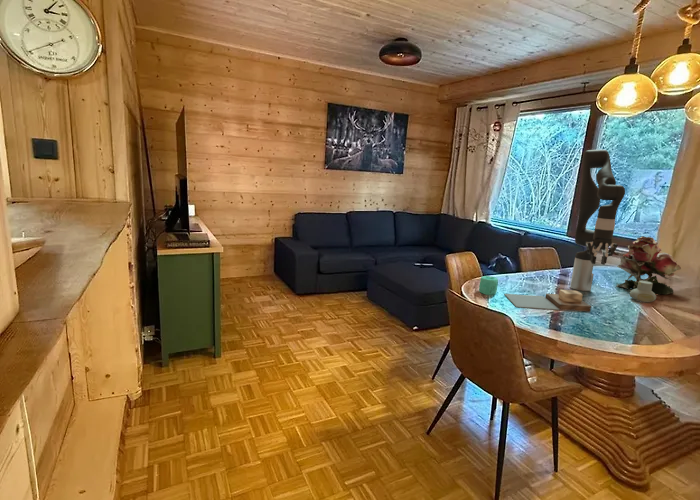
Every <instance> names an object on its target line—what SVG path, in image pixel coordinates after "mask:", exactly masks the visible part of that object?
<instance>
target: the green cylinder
mask: <svg viewBox="0 0 700 500" xmlns="http://www.w3.org/2000/svg"><path fill="white" fill-rule="evenodd" d="M498 285H499V279H498V278H497V277H495V276H491V275H484V276H481V277H480V280H479V286H478V289H479V290H478V291H479V292H480V293H481V294H483V295H486V296H496V294H497V291H498Z"/></svg>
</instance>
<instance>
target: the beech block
mask: <svg viewBox="0 0 700 500" xmlns="http://www.w3.org/2000/svg"><path fill="white" fill-rule="evenodd" d="M558 292H559V293H558V294H559V298H560V299H562V300H563V301H567V302H581V301H583V296H584V295H583V293H582V292H580V291H579V290H575V289H572V290H571V289H559V291H558Z"/></svg>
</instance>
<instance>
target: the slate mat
mask: <svg viewBox="0 0 700 500" xmlns="http://www.w3.org/2000/svg"><path fill="white" fill-rule="evenodd" d="M504 296H505V297H506V298H507V299H508V300H509V301H510V302H511V303H512V304H513V305H514V307H516V308H521V309H533V310H535V309H536V310H549V311H561V309H559V308H558V307H556V306H555V305H554V304H553V303H551V302H550V301H549V300H548V299H547V298H546V296H544V295H528V294H514V293H504Z"/></svg>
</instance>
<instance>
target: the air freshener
mask: <svg viewBox="0 0 700 500" xmlns="http://www.w3.org/2000/svg"><path fill="white" fill-rule="evenodd" d="M652 285H653V284H652V283H651V282H648V281H639V282H638V286H637V288H636V289H631V291H630V292H629V296H630V298H632V299H634V301H638V302H640V303H645V304H646V303H647V304H648V303H652V302H654V301H656V299H657V295H655V293H654V292H652V291H651V290H652Z"/></svg>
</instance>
